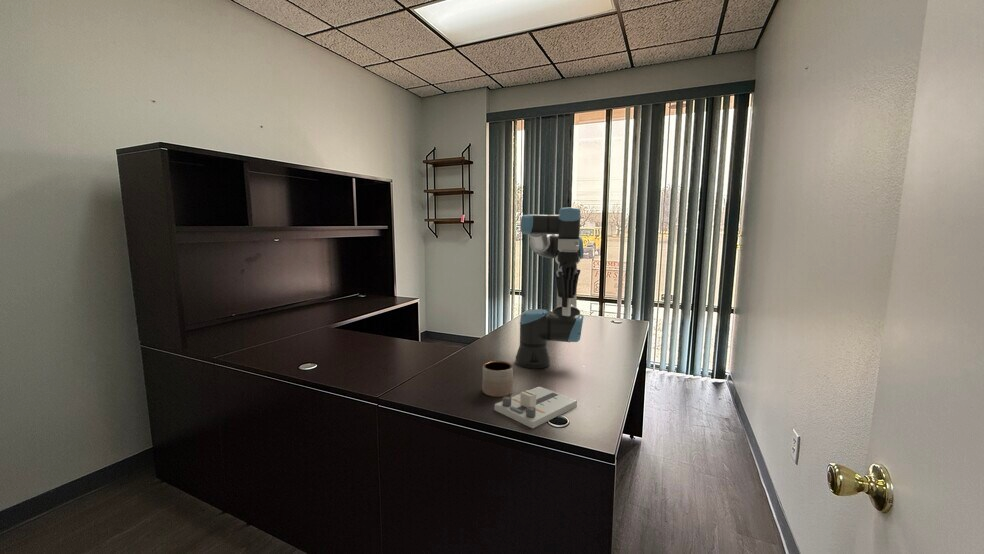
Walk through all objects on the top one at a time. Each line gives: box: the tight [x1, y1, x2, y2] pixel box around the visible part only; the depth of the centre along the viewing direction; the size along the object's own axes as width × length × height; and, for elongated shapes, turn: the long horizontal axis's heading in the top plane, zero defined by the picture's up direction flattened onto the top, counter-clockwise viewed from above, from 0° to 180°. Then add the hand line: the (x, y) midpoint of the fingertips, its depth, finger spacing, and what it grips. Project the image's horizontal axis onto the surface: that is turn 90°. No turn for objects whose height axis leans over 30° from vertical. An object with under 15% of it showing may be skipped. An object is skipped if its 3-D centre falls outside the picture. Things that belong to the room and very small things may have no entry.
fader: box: [519, 389, 536, 407], centre depth 123 cm, size 4×3×4 cm
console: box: [494, 386, 578, 429], centre depth 126 cm, size 16×22×4 cm
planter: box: [481, 360, 514, 398], centre depth 139 cm, size 11×11×10 cm
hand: (566, 315), depth 144 cm, fingers closed
